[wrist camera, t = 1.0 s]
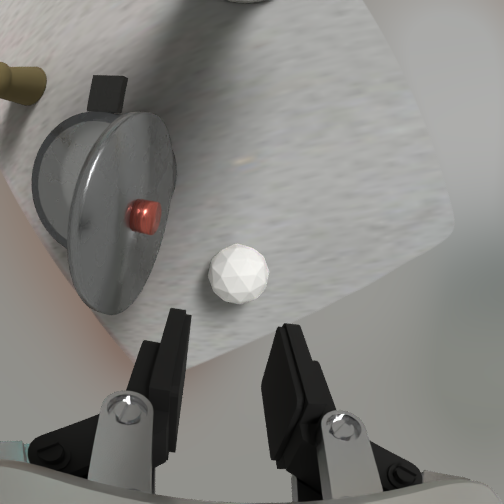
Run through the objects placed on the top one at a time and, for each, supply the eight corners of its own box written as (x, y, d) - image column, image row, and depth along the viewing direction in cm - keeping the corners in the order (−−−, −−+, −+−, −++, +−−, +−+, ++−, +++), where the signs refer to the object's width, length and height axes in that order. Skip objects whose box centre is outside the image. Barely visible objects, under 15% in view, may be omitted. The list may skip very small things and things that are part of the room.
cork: (20, 112, 35) (-26, 113, 25) (13, 79, 33) (-32, 74, 23) (50, 93, 35) (6, 87, 25) (42, 59, 33) (-1, 47, 23)
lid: (77, 103, 14) (116, 104, 14) (173, 117, 29) (198, 120, 29) (75, 350, 20) (106, 362, 19) (154, 267, 35) (176, 273, 34)
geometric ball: (244, 243, 48) (278, 240, 41) (247, 298, 48) (282, 303, 41) (196, 246, 44) (226, 242, 37) (201, 305, 44) (231, 312, 37)
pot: (80, 84, 35) (44, 75, 26) (191, 91, 37) (180, 79, 28) (66, 248, 43) (34, 275, 34) (166, 265, 45) (151, 299, 36)
